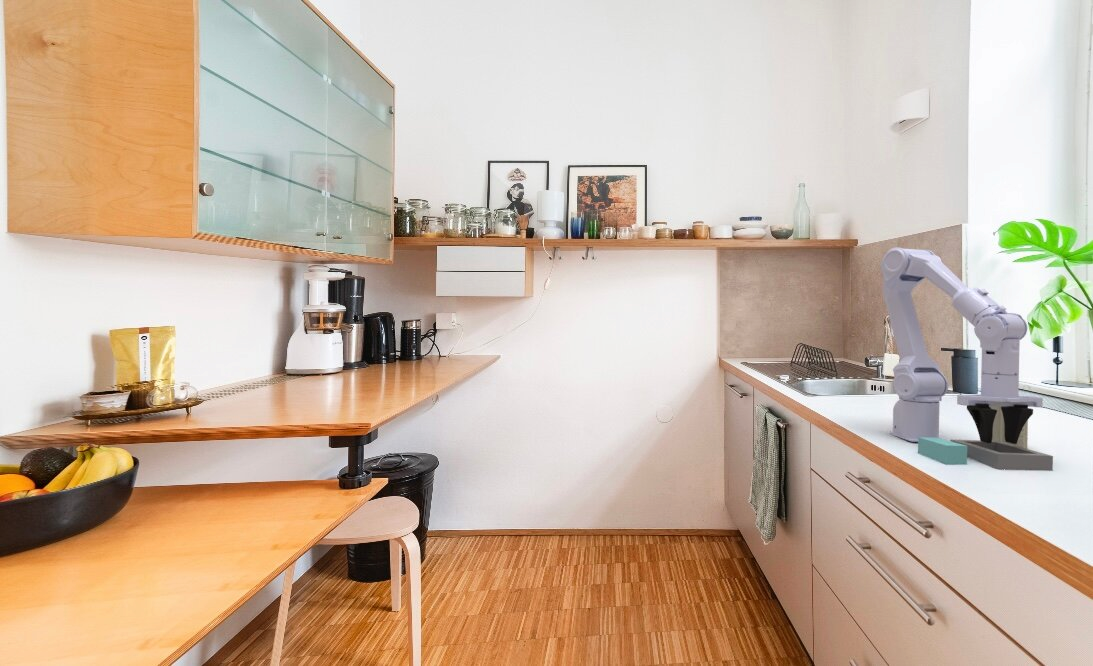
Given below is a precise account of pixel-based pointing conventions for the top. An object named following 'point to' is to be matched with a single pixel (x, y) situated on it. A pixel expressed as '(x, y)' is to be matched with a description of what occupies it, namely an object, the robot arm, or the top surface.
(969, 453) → the socket block
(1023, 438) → the skincare box
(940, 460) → the peg
